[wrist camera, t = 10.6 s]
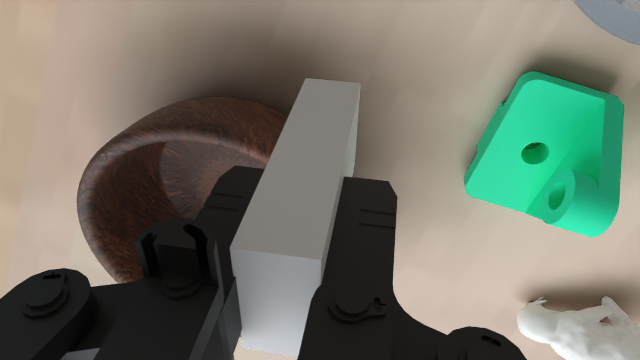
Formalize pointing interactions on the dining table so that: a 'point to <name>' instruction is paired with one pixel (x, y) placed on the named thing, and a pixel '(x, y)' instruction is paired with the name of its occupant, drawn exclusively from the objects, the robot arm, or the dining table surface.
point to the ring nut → (630, 4)
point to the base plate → (613, 18)
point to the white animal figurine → (583, 331)
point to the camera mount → (553, 154)
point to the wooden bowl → (167, 171)
